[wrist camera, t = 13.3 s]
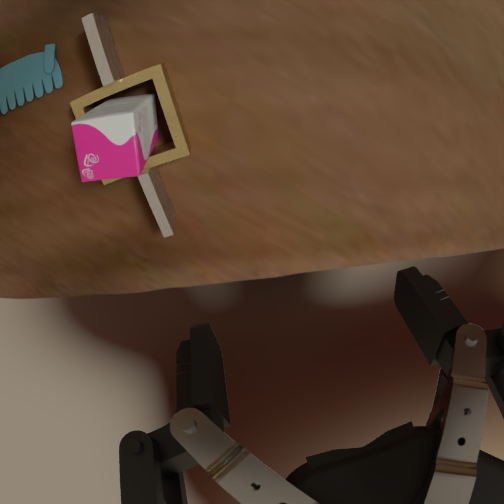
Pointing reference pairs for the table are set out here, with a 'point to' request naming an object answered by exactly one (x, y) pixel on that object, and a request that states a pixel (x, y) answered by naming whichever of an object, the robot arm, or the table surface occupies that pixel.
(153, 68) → the square frame with handle
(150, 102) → the supplement box
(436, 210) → the table surface
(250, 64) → the table surface
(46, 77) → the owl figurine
